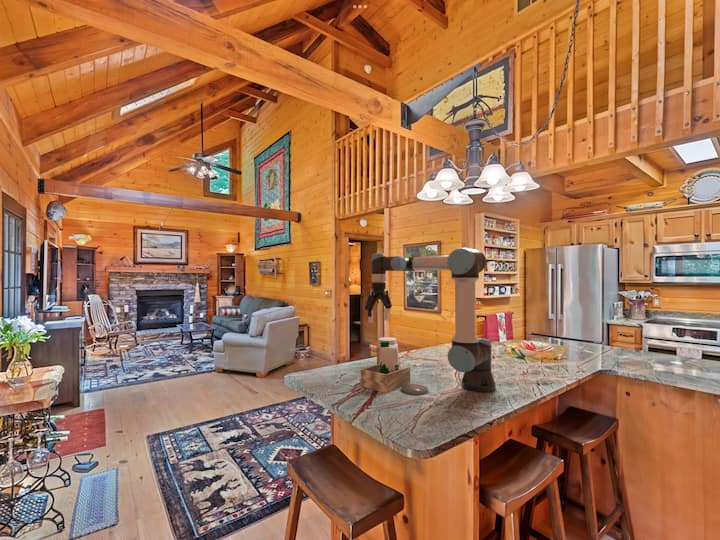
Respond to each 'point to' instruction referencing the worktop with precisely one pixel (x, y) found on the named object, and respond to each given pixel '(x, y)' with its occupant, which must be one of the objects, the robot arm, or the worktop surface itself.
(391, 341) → the supplement tub
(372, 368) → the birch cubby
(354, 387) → the worktop surface
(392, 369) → the soya milk
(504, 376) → the worktop surface
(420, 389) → the slate coaster
